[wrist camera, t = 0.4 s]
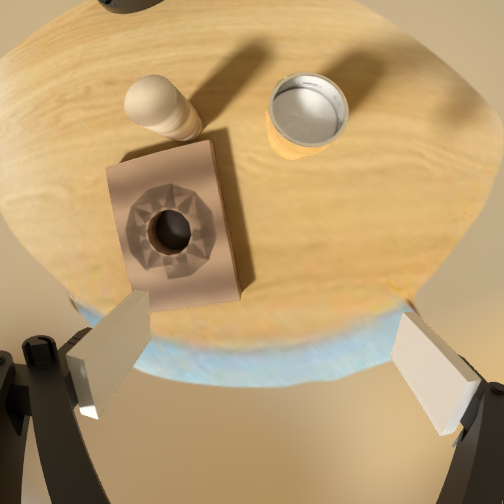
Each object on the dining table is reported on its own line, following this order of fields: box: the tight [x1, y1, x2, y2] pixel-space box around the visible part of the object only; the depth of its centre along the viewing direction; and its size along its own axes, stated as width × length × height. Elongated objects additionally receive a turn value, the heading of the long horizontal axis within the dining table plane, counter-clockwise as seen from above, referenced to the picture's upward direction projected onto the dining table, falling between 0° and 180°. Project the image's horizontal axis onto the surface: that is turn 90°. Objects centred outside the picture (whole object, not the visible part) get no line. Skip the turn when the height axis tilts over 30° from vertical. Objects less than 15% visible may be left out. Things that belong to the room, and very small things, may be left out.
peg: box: [124, 75, 202, 142], centre depth 30 cm, size 5×5×14 cm
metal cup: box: [265, 72, 349, 160], centre depth 30 cm, size 7×7×15 cm
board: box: [105, 140, 242, 313], centre depth 38 cm, size 20×14×3 cm
